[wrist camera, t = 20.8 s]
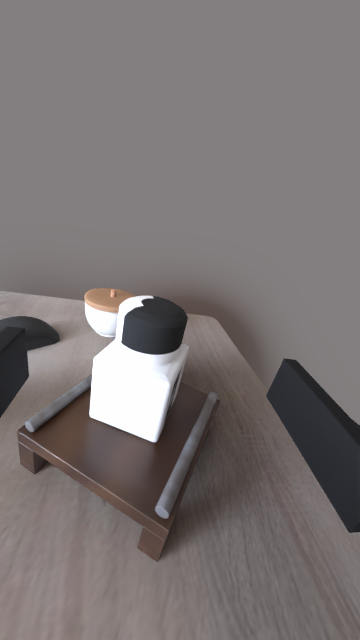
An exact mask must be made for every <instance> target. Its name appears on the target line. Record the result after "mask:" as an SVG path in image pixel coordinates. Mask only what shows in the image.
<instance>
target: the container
mask: <svg viewBox="0 0 360 640" xmlns="http://www.w3.org/2000/svg"><path fill="white" fill-rule="evenodd" d="M186 323H187V315H186V313H185V312H184V310H183V309H182V308H181V307H179V306H178V305H176V304H175V303H173V302H171V301H169V300H166V299H163V298H160V297H155V296H137V297H132V298H129V299H126V300H125V301H124V302H123V303H121V305H120V306H119V313H118V322H117V331H116V339H115V340H114V341H113V342H112V343H111V344H109V345H108V346H107V347H106V348H105V349H104V350H102V351H101V352H100V353H99V354H98V355H97V356H95V358H94V360H93V372H92V385H91V399H90V412H89V414H90V417H91V418H94V419H96V420H99V421H101V422H104V423H106V424H109V425H111V426H114V427H116V428H119V429H121V430H124V431H126V432H129V433H131V434H134V435H136V436H139V437H141V438H144V439H146V440H149V441H151V442H157V441H158V439H159V436H160V434H161V432H162V429H163V427H164V424H165V422H166V419H167V417H168V415H169V412H170V410H171V407H172V405H173V402H174V400H175V397H176V395H177V391H178V388H179V384H180V380H181V377H182V373H183V369H184V366H185V362H186V358H187V355H188V351H189V347H188V346H187V345H184V344H181V343H182V339H183V335H184V331H185V327H186Z"/></svg>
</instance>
